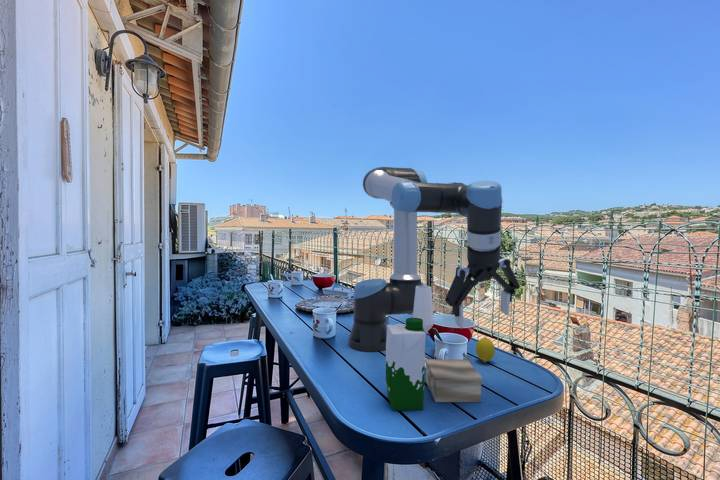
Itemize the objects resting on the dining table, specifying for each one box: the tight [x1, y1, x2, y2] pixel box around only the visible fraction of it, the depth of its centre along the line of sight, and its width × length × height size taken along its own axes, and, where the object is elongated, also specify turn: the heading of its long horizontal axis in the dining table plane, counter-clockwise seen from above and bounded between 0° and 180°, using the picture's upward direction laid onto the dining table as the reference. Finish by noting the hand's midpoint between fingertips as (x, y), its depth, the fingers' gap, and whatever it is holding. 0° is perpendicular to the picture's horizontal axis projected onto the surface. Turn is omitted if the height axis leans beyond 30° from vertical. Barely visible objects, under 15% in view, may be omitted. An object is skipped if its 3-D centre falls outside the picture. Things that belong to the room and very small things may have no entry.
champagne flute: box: [412, 285, 435, 369], centre depth 103 cm, size 7×7×24 cm
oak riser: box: [425, 358, 484, 403], centre depth 85 cm, size 12×12×6 cm
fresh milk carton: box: [385, 317, 427, 412], centre depth 79 cm, size 9×9×20 cm
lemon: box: [475, 336, 496, 363], centre depth 104 cm, size 6×6×8 cm
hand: (482, 318), depth 88 cm, fingers open, 13 cm apart
